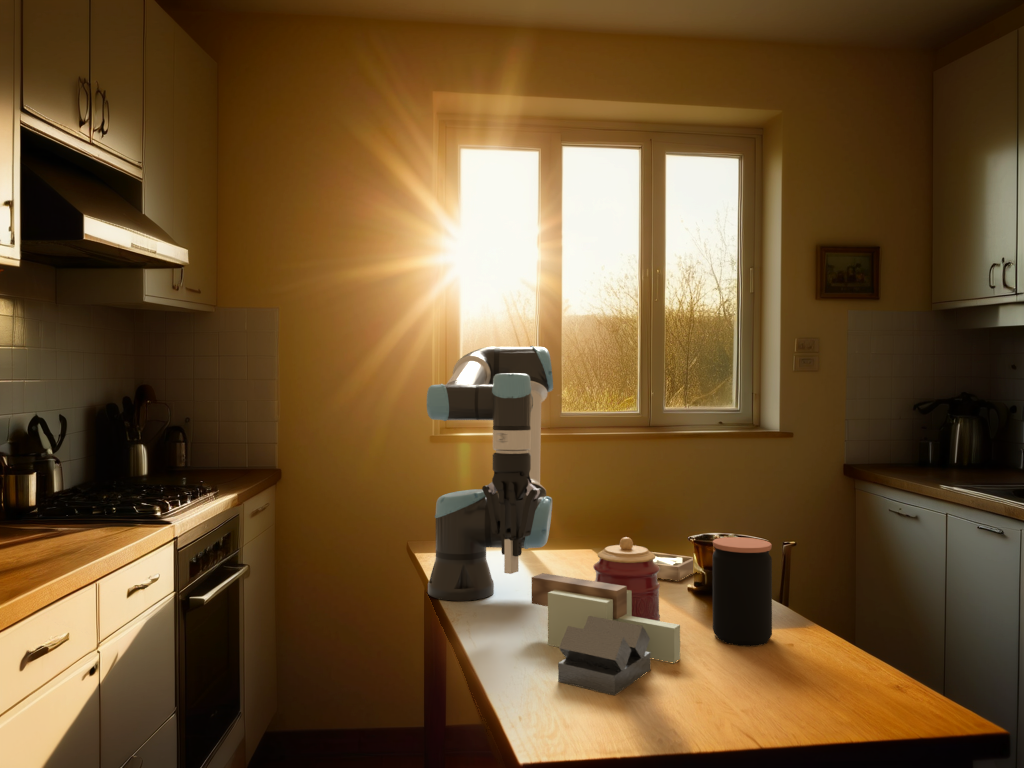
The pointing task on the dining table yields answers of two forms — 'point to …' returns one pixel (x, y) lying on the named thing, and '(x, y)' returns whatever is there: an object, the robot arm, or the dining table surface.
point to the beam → (578, 607)
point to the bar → (579, 590)
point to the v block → (604, 655)
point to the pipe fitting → (668, 561)
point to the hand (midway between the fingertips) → (511, 572)
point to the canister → (632, 575)
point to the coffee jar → (742, 591)
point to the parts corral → (674, 567)
